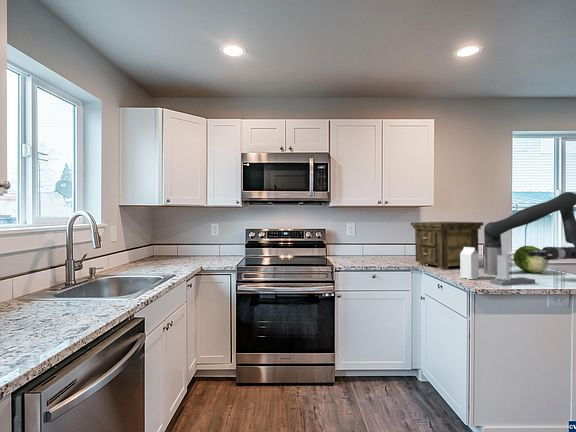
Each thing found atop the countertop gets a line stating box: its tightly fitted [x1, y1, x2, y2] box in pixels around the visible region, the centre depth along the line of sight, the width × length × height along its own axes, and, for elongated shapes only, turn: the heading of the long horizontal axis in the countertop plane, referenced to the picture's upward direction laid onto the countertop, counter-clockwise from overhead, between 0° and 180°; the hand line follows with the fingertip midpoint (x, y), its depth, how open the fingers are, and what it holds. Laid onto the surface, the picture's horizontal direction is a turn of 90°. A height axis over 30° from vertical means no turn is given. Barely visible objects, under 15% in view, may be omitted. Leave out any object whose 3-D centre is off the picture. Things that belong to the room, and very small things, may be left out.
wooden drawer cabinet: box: [410, 221, 484, 270], centre depth 254 cm, size 35×35×33 cm
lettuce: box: [513, 245, 549, 274], centre depth 222 cm, size 17×23×17 cm
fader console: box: [489, 276, 536, 287], centre depth 191 cm, size 22×8×2 cm, turn 103°
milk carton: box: [459, 247, 480, 280], centre depth 205 cm, size 7×7×19 cm
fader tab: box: [495, 255, 512, 281], centre depth 189 cm, size 4×6×13 cm, turn 13°
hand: (528, 253), depth 193 cm, fingers closed
